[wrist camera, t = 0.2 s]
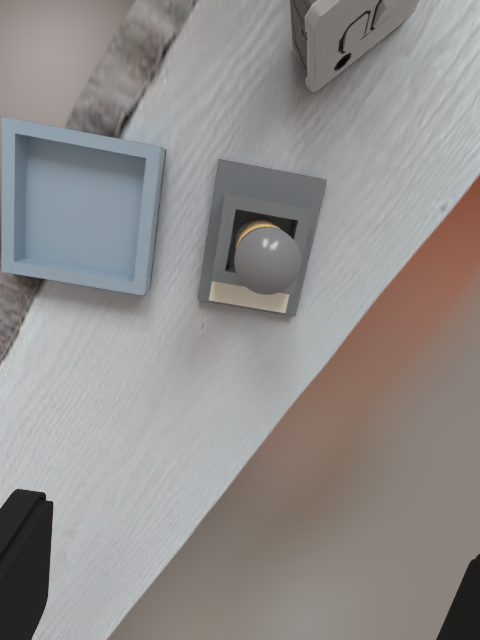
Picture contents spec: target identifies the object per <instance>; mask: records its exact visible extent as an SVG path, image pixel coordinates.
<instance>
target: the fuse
mask: <svg viewBox="0 0 480 640" xmlns="http://www.w3.org/2000/svg"><path fill="white" fill-rule="evenodd" d="M234 264H235V270H236V274H237V276H238V278H239V280H240V281H241V282H242V284H243V285H244V286H245V287H246V288H248V289H249V290H251V291H253V292H255V293H258V294H264V295H270V294H276V293H279V292H281V291H283V290H285V289H287V288H288V287H289V286H290V285H291V284H292V283H293V282H294V281H295V279H296V278H297V276H298V274H299V271H300V267H301V255H300V251H299V248H298V246H297V244H296V242H295V241H294V240H293V239H292V238H291V237H290V236H289V235H288V234H287V233H285V232H284V231H282V230H281V229H280V227H279V226H278V225H277V224H276V223H274V222H273V221H271V220H269V219H267V218H261V217H259V218H253V219H250V220H248V221H246V222H245V223H244V224H243V225H242V226H241V227H240V228H239V230H238V232H237V234H236V238H235V258H234Z"/></svg>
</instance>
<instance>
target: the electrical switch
mask: <svg viewBox="0 0 480 640" xmlns="http://www.w3.org/2000/svg"><path fill="white" fill-rule="evenodd" d="M418 1H419V0H290V5H291V22H292V39H293V47H294V49H295V50H296V51H297V53H298V54H299V55H300V57H301V60H302V62H303V63H304V65H305V66H306V67H307V77H305V85H306V86H307V87H308V88H309V90H310V91H311V92H317V91H319V90H320V89H321V88H322V87H324V86H325V85H326V84H327V83H329V82H330V81H331V80H332V79H334V78H335V77H336V76H337V75H339V74H340V73H341V72H342V71H343V70H345V69H346V68H347V67H348V66H350V65H351V64H352V63H353V62H355V61H356V60H357V59H358V58H360V57H361V56H362V55H363V54H365V53H366V52H367V51H368V50H370V49H371V48H372V47H373V46H375V45H376V44H377V43H378V42H380V41H381V40H382V39H383V38H385V37H386V36H387V35H388V34H390V33H391V32H392V31H393V30H394V29H396V28H397V27H398V26H399V25H401V24H402V23H403V22H404V21H406V20H407V19H408V18H409V17H410V15H411V14H412V13H413V12H414V10H415V8H416V6H417V3H418ZM304 32H305V33H304ZM302 38H303V39H302Z"/></svg>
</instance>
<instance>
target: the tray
mask: <svg viewBox="0 0 480 640" xmlns="http://www.w3.org/2000/svg"><path fill="white" fill-rule="evenodd" d="M165 153H166V150H165V149H164V148H162V147H159V146H154V145H148V144H143V143H138V142H133V141H128V140H122V139H117V138H112V137H107V136H101V135H96V134H91V133H86V132H81V131H75V130H70V129H65V128H60V127H54V126H49V125H44V124H38V123H33V122H28V121H23V120H18V119H12V118H7V117H2V203H1V204H2V206H1V208H2V209H1V215H2V216H1V220H2V221H1V222H2V224H1V225H2V226H1V227H2V231H1V233H2V234H1V235H2V236H1V237H2V241H1V244H2V245H1V248H2V249H1V272H6V273H12V274H18V275H24V276H30V277H36V278H42V279H48V280H54V281H60V282H66V283H72V284H78V285H84V286H89V287H95V288H101V289H107V290H113V291H119V292H125V293H131V294H137V295H143V296H144V295H145V294H146V293H147V292H148V291H149V290H150V285H151V276H152V267H153V258H154V249H155V241H156V232H157V223H158V214H159V206H160V197H161V188H162V179H163V171H164V162H165Z"/></svg>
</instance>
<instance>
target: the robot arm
mask: <svg viewBox="0 0 480 640" xmlns="http://www.w3.org/2000/svg"><path fill="white" fill-rule="evenodd" d="M52 519H53V502H52V501H46V495H45V493H43V492H36V491H29V490H22V489H16V490H15V491H14V492H13V493H12V494H11V495H10V496H9V498H8V499H7V500H6V502H5V503H4V504H3V506H2V507H1V508H0V640H31V639H32V637H33V634H34V632H35V630H36V628H37V626H38V624H39V621H40V619H41V617H42V615H43V612H44V609H45V606H46V603H47V598H48V587H49V570H50V553H51V536H52ZM436 640H480V554H479V555H478V556H477V557H476V559H473V560H472V561H471V562H470V564H469V566H468V568H467V570H466V573H465V575H464V577H463V579H462V582H461V584H460V586H459V589H458V591H457V593H456V596H455V598H454V600H453V603H452V605H451V607H450V609H449V612H448V614H447V616H446V619H445V621H444V623H443V626H442V628H441V630H440V632H439V635H438V637H437V639H436Z"/></svg>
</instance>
